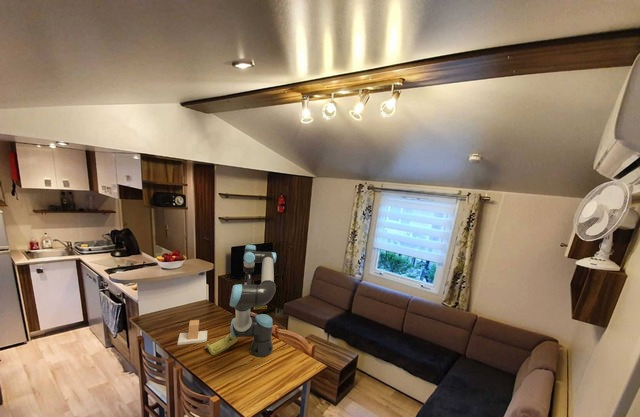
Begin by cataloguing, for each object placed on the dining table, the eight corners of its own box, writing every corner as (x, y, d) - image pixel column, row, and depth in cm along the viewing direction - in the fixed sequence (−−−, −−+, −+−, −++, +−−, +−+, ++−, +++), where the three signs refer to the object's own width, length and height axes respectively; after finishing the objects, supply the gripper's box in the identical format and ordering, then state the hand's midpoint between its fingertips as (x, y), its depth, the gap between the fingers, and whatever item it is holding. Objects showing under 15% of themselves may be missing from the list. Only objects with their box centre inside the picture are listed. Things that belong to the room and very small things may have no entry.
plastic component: (213, 354, 164) (206, 341, 169) (210, 361, 167) (203, 348, 172) (240, 340, 180) (233, 328, 185) (237, 346, 182) (230, 335, 187)
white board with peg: (206, 341, 180) (207, 332, 180) (177, 344, 173) (178, 335, 173) (207, 332, 191) (207, 324, 191) (179, 335, 184) (180, 326, 184)
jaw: (197, 338, 180) (198, 324, 180) (188, 339, 178) (189, 325, 177) (198, 333, 187) (199, 319, 186) (189, 334, 184) (190, 320, 184)
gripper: (242, 261, 201) (240, 288, 202) (245, 271, 177) (242, 301, 179) (252, 261, 203) (249, 287, 204) (256, 271, 180) (254, 301, 181)
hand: (246, 294), depth 191 cm, fingers open, 13 cm apart
